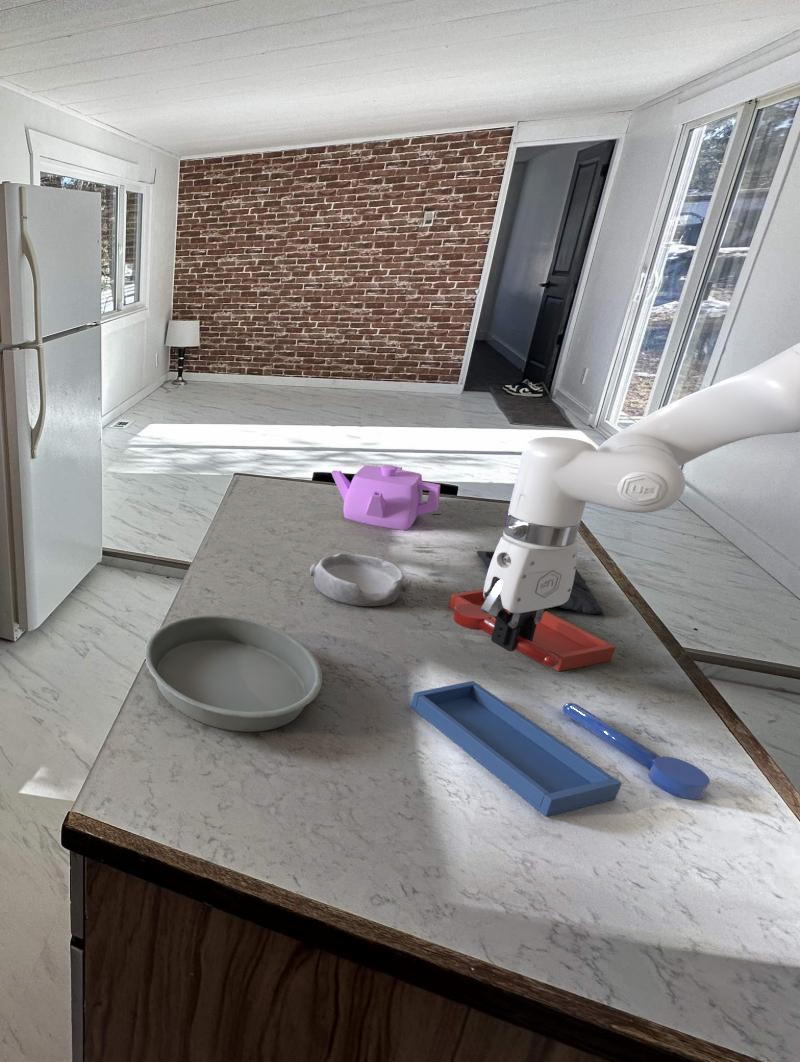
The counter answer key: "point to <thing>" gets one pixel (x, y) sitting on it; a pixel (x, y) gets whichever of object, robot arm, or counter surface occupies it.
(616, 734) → the blue spoon
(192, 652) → the cake pan
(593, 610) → the dark slate chunk
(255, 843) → the counter surface
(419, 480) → the teakettle
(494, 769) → the blue tray
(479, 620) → the red spoon
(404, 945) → the counter surface
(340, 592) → the dish
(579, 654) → the red tray
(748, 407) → the robot arm
